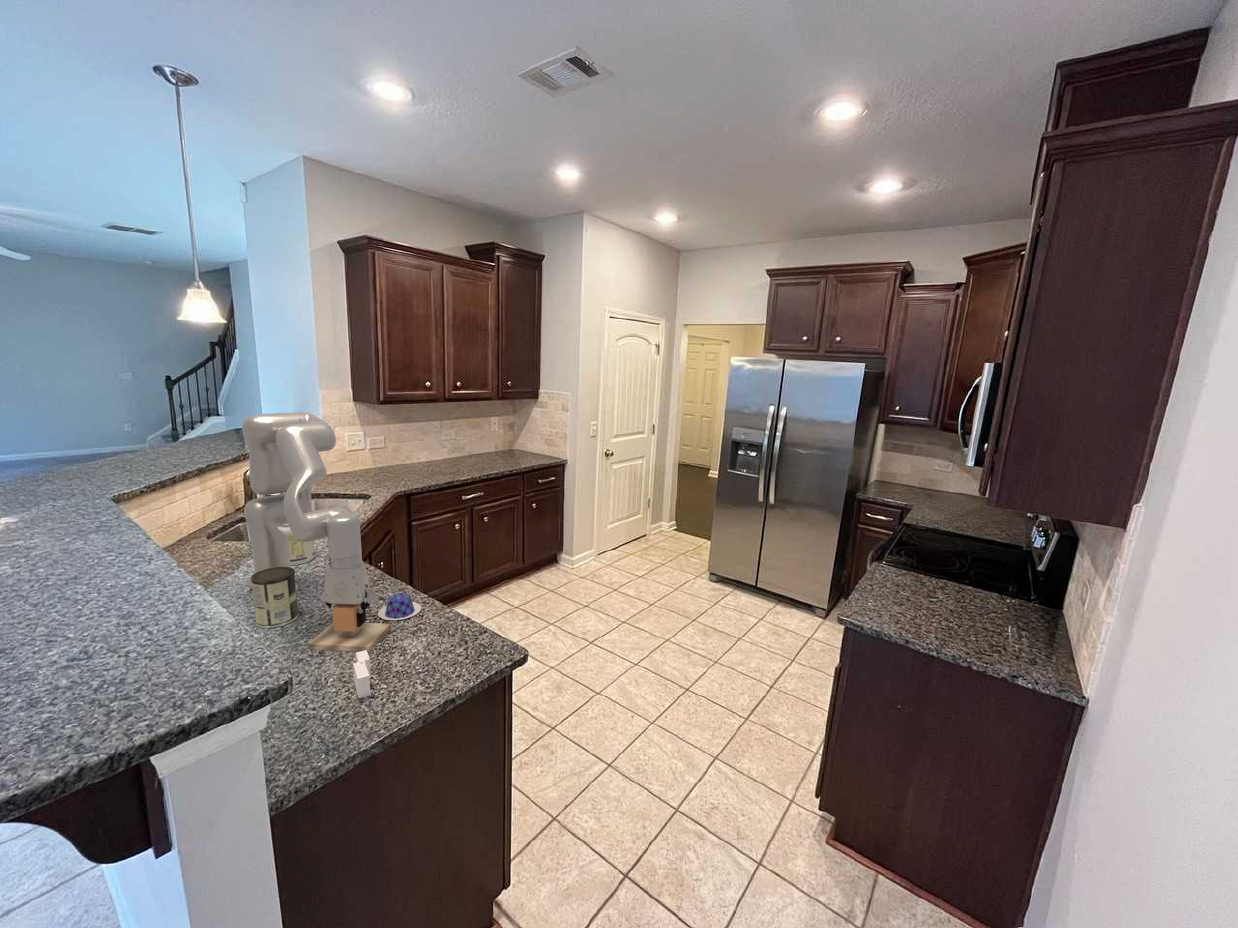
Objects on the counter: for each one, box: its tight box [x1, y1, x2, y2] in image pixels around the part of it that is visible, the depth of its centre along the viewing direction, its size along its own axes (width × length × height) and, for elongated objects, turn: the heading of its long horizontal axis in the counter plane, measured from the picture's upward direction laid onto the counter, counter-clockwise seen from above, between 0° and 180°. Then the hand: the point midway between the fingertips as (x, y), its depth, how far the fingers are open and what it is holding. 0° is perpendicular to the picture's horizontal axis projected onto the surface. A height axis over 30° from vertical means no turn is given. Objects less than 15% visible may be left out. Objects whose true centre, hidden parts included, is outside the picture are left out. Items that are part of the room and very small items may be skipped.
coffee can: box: [250, 567, 299, 629], centre depth 144 cm, size 10×10×14 cm
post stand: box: [307, 622, 392, 653], centre depth 136 cm, size 16×12×8 cm
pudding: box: [377, 592, 422, 621], centre depth 152 cm, size 12×12×5 cm
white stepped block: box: [352, 650, 372, 699], centre depth 119 cm, size 15×11×6 cm
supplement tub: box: [278, 523, 316, 566], centre depth 187 cm, size 12×12×17 cm
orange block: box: [332, 604, 367, 632], centre depth 136 cm, size 6×6×7 cm
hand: (350, 623), depth 136 cm, fingers closed on orange block, 5 cm apart
